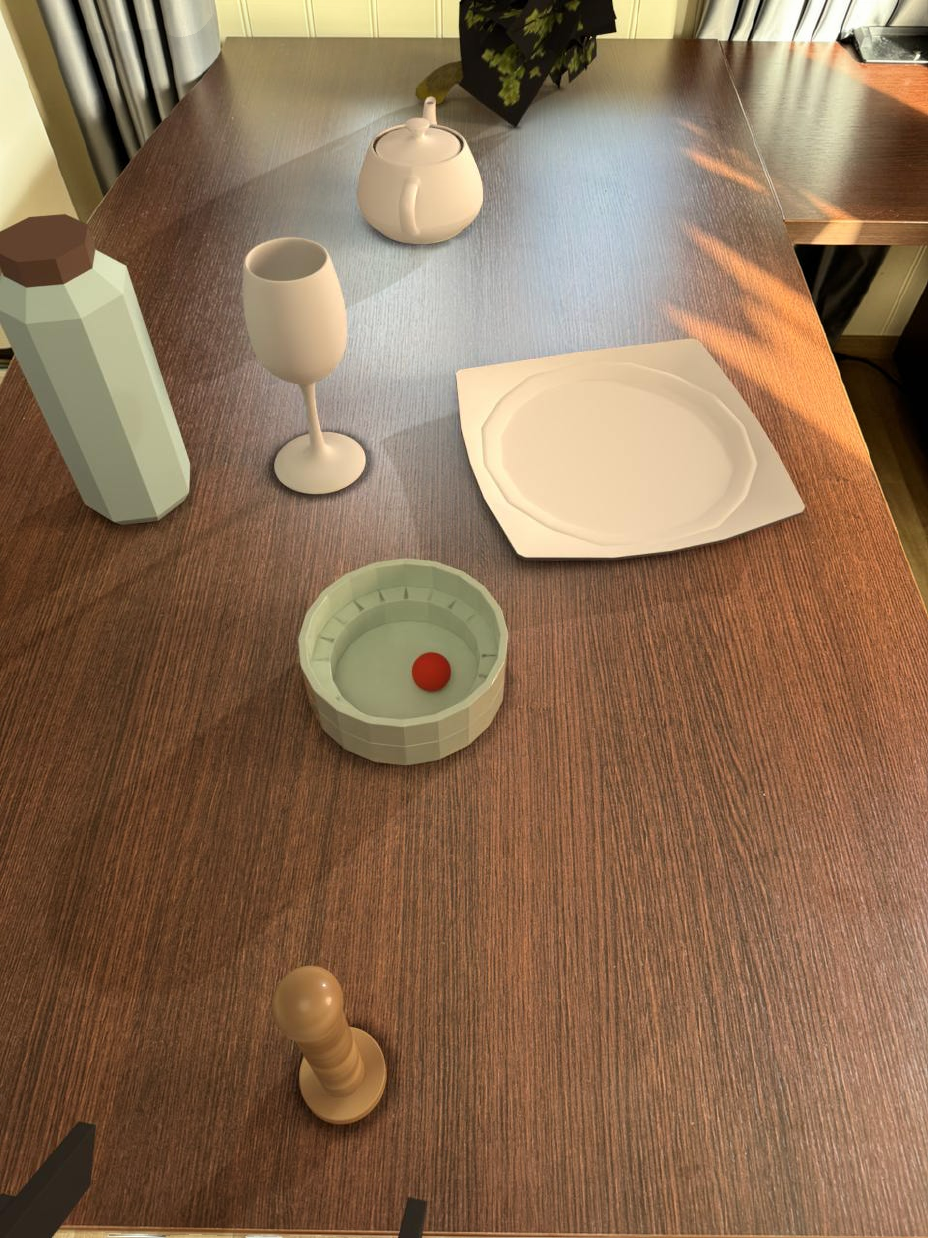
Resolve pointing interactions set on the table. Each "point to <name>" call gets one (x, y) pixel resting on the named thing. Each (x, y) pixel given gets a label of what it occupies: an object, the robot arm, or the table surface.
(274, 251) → the wineglass
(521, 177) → the table surface
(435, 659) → the tomato
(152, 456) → the water bottle
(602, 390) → the plate
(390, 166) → the teapot
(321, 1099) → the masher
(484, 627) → the bowl
